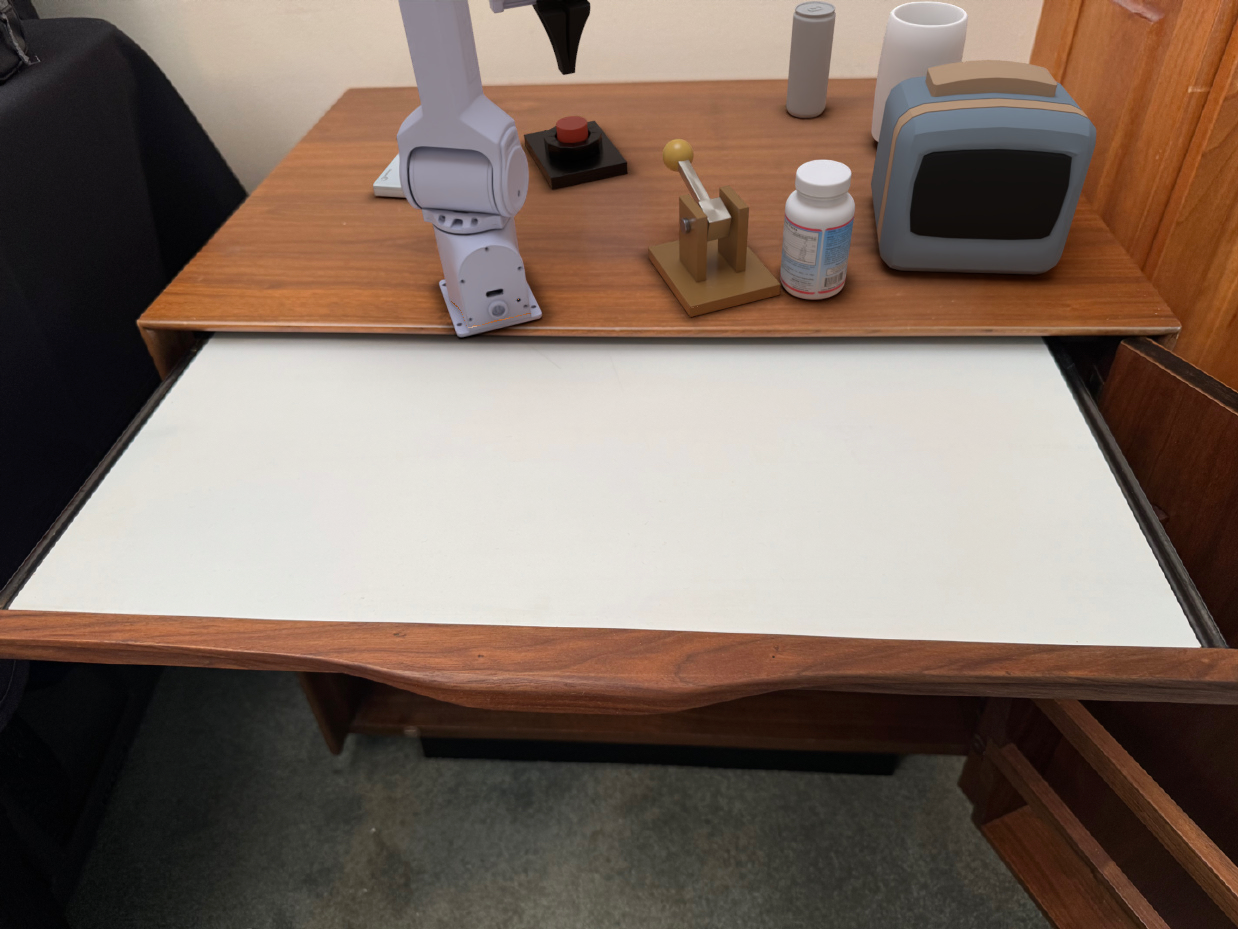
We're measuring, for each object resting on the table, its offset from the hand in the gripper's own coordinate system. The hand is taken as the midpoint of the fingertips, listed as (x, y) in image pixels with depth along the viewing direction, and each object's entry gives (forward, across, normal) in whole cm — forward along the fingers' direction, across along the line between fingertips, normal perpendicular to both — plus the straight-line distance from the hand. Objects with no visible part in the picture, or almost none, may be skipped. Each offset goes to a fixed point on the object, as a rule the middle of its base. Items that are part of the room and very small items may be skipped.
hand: (566, 70), depth 96 cm
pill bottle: (+10, -13, +34) cm, 38 cm away
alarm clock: (+10, -30, +32) cm, 45 cm away
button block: (+10, 0, 0) cm, 10 cm away
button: (+8, 0, 0) cm, 8 cm away
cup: (+10, -36, +13) cm, 40 cm away
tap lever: (+4, -5, +24) cm, 25 cm away
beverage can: (+10, -30, 0) cm, 32 cm away
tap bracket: (+10, -5, +29) cm, 31 cm away
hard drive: (+10, +16, -1) cm, 19 cm away
